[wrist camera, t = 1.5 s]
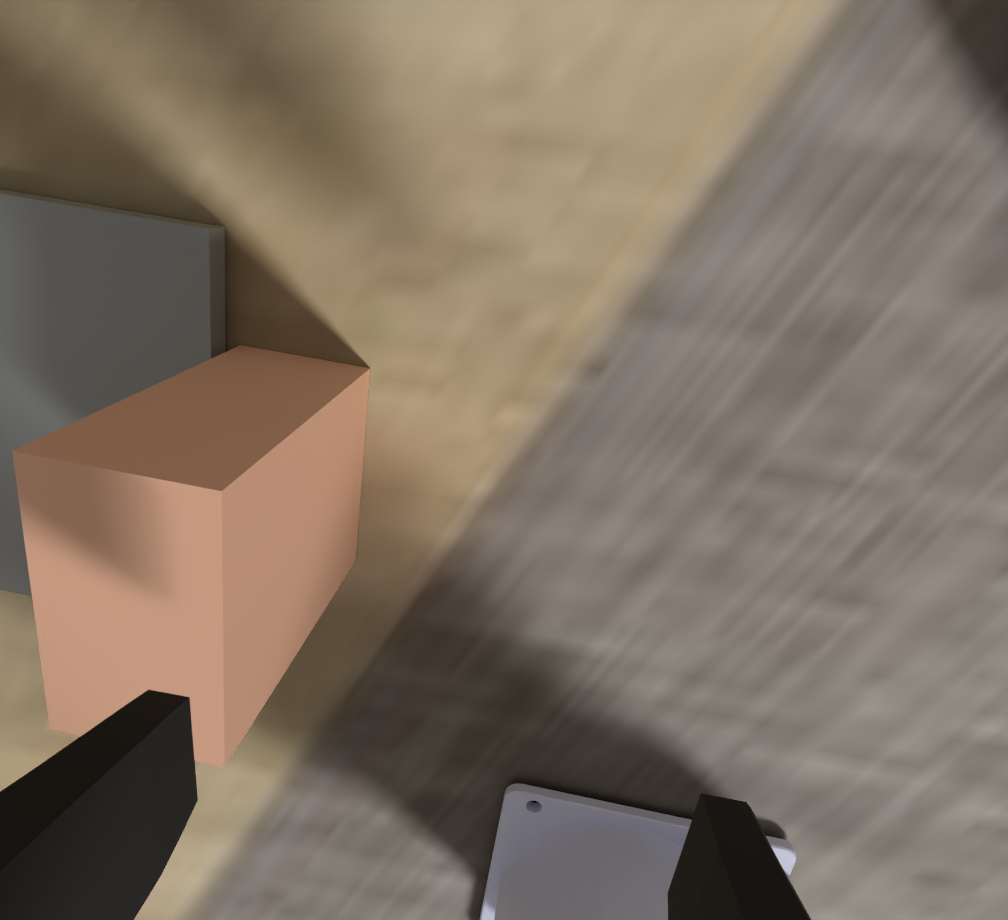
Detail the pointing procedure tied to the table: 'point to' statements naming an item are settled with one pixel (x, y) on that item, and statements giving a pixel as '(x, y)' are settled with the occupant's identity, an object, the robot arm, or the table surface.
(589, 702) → the table surface
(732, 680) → the table surface
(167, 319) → the board
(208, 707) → the block
